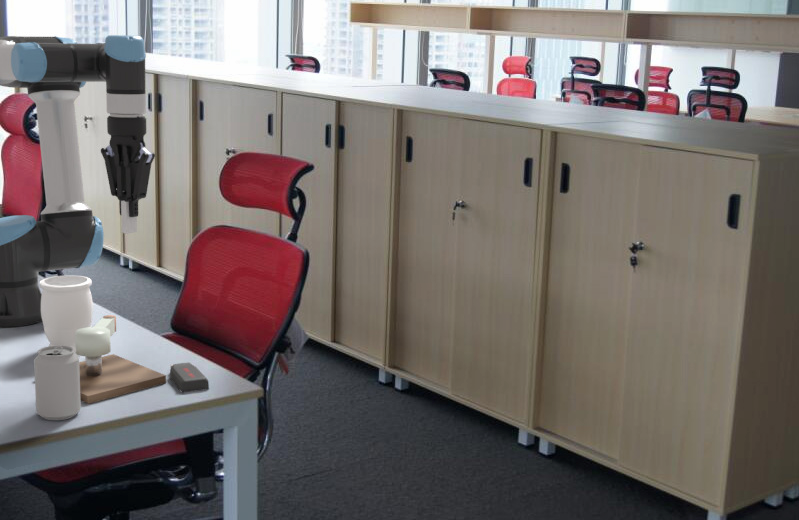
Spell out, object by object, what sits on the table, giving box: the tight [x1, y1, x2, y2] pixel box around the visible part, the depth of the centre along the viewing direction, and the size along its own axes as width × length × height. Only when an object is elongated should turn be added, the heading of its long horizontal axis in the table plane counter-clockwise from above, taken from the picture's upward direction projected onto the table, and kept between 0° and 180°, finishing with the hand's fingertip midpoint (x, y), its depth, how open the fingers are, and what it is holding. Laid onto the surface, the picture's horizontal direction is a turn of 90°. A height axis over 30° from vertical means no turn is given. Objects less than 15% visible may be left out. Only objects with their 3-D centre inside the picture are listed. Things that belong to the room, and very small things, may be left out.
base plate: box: [79, 353, 167, 405], centre depth 203 cm, size 18×17×2 cm
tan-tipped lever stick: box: [75, 314, 117, 357], centre depth 206 cm, size 16×6×4 cm, turn 0°
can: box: [33, 345, 82, 421], centre depth 184 cm, size 8×8×12 cm
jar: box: [39, 275, 94, 353], centre depth 220 cm, size 11×10×15 cm
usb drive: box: [169, 362, 210, 393], centre depth 205 cm, size 5×12×3 cm, turn 27°
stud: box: [84, 355, 103, 376], centre depth 202 cm, size 3×3×4 cm
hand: (129, 232), depth 213 cm, fingers closed
